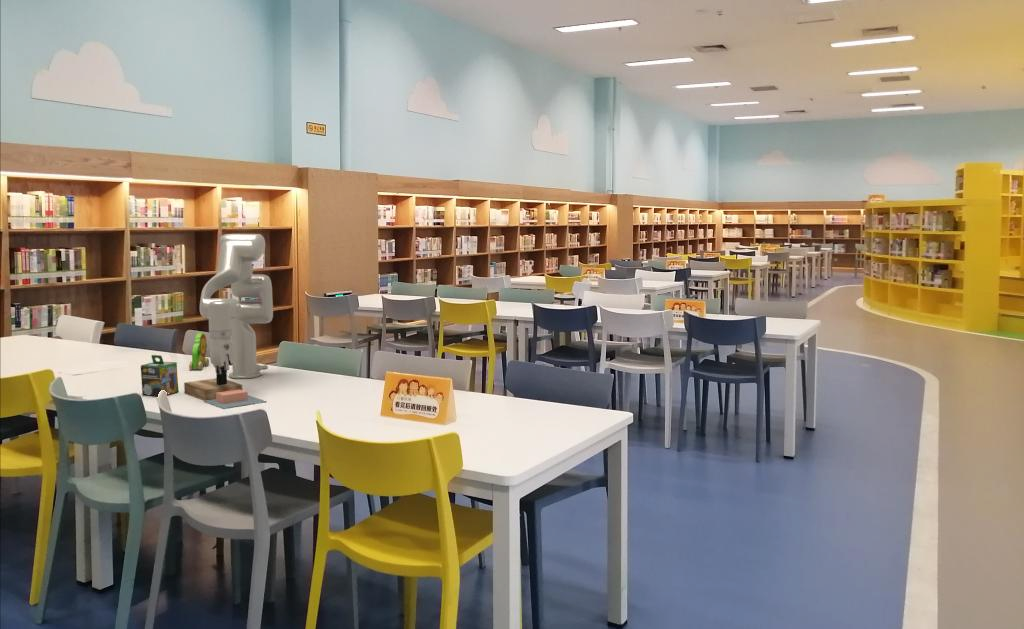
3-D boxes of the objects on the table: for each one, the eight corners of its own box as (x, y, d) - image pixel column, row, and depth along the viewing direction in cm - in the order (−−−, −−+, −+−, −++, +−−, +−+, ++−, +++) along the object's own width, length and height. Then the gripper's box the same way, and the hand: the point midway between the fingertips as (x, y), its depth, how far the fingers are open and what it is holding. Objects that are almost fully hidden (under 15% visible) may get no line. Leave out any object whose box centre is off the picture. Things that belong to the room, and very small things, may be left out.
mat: (245, 395, 295) (245, 394, 295) (266, 402, 284) (266, 401, 284) (203, 401, 284) (203, 400, 284) (223, 409, 273) (223, 408, 273)
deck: (220, 387, 308) (220, 377, 307) (242, 395, 295) (242, 384, 295) (184, 393, 298) (184, 382, 297) (205, 400, 285) (205, 389, 285)
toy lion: (201, 370, 343) (200, 336, 341) (188, 371, 342) (187, 336, 341) (211, 364, 359) (210, 331, 357) (198, 364, 358) (197, 331, 356)
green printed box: (179, 392, 299) (177, 353, 298) (161, 397, 291) (159, 357, 289) (159, 390, 302) (157, 352, 301) (141, 395, 294) (139, 355, 292)
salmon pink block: (247, 391, 285) (247, 400, 286) (239, 389, 290) (240, 397, 290) (223, 395, 279) (223, 403, 280) (215, 392, 283) (216, 401, 284)
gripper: (239, 335, 286) (241, 386, 288) (221, 331, 297) (222, 380, 299) (219, 337, 281) (221, 388, 283) (201, 333, 291) (202, 382, 293)
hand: (221, 384), depth 291 cm, fingers closed
